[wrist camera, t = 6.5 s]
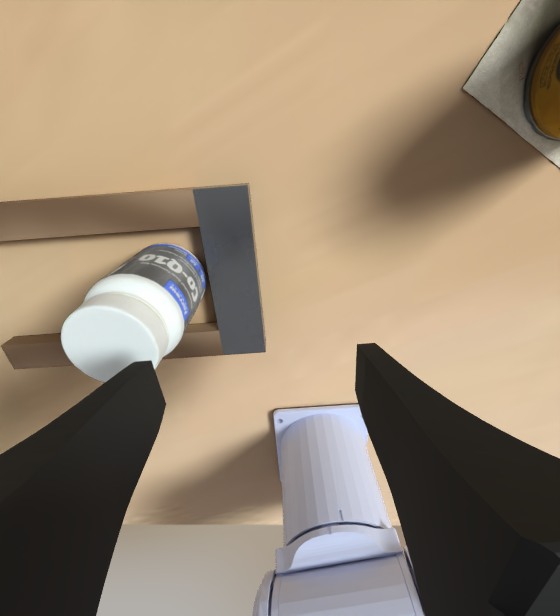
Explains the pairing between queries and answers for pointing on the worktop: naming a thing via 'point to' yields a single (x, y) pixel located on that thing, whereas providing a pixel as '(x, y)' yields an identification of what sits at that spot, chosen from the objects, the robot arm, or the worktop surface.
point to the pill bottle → (135, 312)
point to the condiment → (525, 75)
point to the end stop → (232, 265)
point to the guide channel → (98, 220)
